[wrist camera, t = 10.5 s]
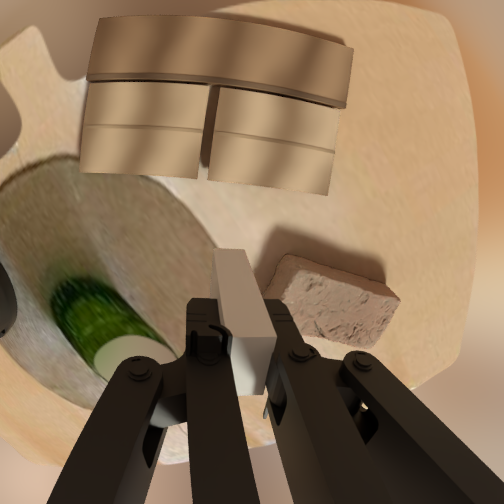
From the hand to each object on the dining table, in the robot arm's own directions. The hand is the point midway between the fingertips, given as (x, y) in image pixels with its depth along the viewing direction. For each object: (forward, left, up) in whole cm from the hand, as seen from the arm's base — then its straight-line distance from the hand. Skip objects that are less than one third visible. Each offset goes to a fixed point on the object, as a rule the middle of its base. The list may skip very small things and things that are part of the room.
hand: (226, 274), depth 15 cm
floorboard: (-2, +15, -17) cm, 23 cm away
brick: (+15, -11, -18) cm, 26 cm away
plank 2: (+5, +6, -16) cm, 18 cm away
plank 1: (-8, +6, -16) cm, 19 cm away
